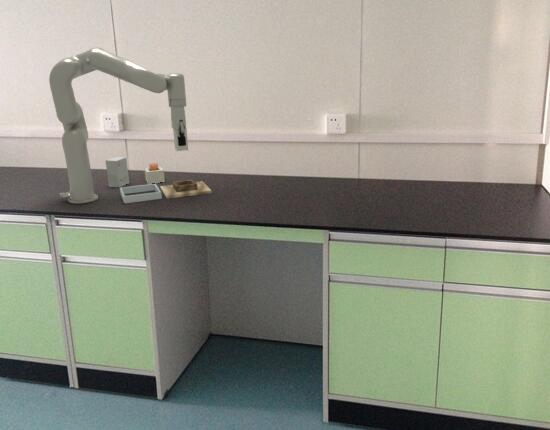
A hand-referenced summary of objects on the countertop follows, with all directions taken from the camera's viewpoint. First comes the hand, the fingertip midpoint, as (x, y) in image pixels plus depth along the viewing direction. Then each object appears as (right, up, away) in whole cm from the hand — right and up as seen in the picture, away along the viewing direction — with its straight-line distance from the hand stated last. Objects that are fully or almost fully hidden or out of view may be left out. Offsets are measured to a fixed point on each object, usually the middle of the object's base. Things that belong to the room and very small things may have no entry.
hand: (181, 144), depth 243 cm
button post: (-17, -15, +25) cm, 34 cm away
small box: (-33, -17, +21) cm, 43 cm away
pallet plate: (+1, -20, +7) cm, 22 cm away
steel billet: (0, -2, +1) cm, 2 cm away
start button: (-17, -10, +23) cm, 30 cm away
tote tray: (-18, -23, 0) cm, 29 cm away
